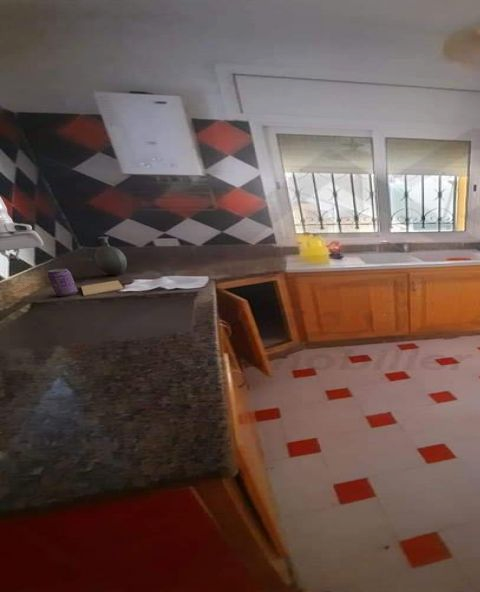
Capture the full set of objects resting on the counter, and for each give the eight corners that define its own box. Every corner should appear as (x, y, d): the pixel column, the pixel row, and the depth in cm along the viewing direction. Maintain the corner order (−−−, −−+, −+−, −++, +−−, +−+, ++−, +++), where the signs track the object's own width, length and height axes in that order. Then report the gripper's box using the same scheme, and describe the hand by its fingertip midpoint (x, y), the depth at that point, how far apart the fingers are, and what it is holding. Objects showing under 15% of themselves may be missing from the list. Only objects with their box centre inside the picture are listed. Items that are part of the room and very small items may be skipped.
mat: (84, 295, 148) (83, 294, 147) (81, 287, 160) (80, 286, 160) (123, 288, 157) (123, 287, 157) (118, 281, 170) (117, 280, 170)
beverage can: (66, 292, 153) (56, 268, 149) (82, 291, 153) (73, 267, 149) (52, 297, 146) (41, 272, 142) (68, 296, 147) (58, 271, 143)
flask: (106, 279, 173) (91, 239, 165) (99, 274, 182) (84, 236, 175) (133, 274, 182) (120, 236, 174) (125, 270, 191) (113, 234, 184)
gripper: (-46, 231, 122) (-27, 266, 127) (35, 225, 136) (49, 257, 141) (-43, 230, 126) (-25, 263, 131) (35, 224, 140) (49, 255, 145)
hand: (14, 260), depth 136 cm, fingers closed
